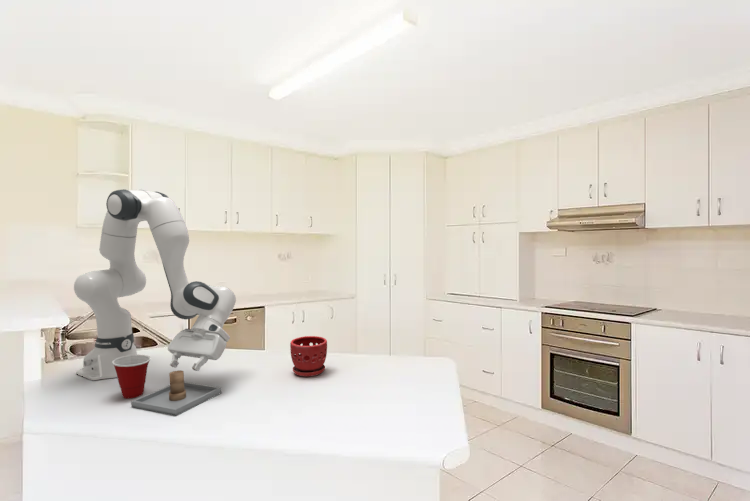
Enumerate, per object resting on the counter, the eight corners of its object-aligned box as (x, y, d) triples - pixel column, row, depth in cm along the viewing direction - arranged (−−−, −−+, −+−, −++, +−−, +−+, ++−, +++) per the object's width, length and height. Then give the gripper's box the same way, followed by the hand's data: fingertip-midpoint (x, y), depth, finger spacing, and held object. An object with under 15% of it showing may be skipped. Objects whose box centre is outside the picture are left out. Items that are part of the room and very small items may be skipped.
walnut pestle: (165, 399, 133) (164, 374, 132) (178, 394, 137) (176, 369, 137) (177, 401, 131) (175, 376, 131) (189, 396, 135) (188, 370, 135)
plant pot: (284, 377, 152) (283, 343, 151) (302, 365, 164) (301, 334, 164) (318, 380, 148) (316, 346, 147) (333, 368, 160) (332, 336, 160)
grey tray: (131, 407, 129) (131, 401, 129) (179, 386, 146) (179, 381, 146) (175, 416, 122) (175, 409, 122) (221, 392, 139) (221, 387, 139)
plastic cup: (136, 403, 133) (133, 364, 132) (105, 401, 135) (103, 363, 134) (160, 389, 143) (158, 354, 143) (132, 388, 145) (130, 353, 145)
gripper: (177, 323, 147) (153, 359, 138) (224, 327, 139) (202, 367, 130) (188, 333, 151) (166, 369, 143) (234, 338, 143) (213, 376, 135)
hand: (183, 368), depth 137 cm, fingers open, 8 cm apart
